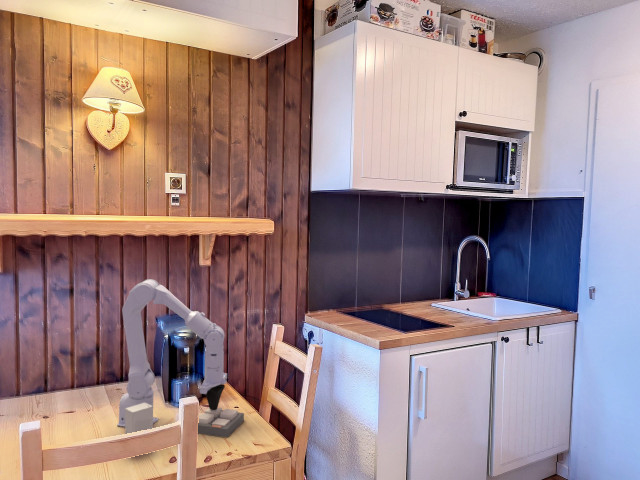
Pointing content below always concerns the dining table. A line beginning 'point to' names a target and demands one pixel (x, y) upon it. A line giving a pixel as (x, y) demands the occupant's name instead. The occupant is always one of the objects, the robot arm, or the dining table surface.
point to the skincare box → (138, 418)
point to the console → (220, 430)
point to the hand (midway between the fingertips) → (213, 408)
